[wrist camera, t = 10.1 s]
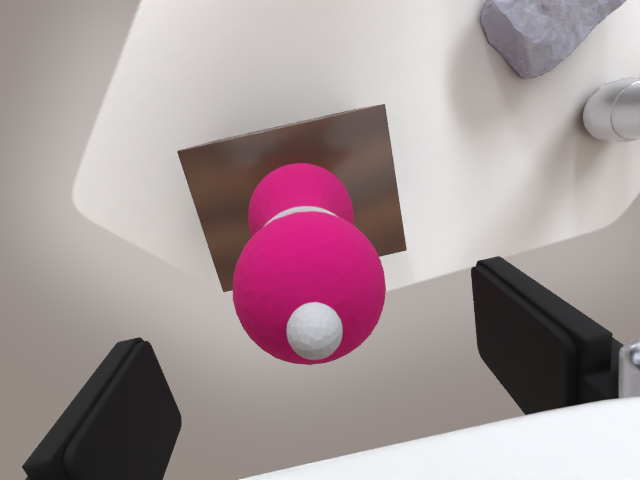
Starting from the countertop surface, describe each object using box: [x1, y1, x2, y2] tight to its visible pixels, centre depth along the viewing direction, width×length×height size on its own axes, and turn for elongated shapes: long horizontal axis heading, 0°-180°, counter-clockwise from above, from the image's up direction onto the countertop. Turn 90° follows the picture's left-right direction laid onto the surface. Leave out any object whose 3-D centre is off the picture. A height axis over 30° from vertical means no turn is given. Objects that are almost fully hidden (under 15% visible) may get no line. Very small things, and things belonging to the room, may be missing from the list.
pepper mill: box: [233, 163, 386, 365], centre depth 21 cm, size 7×7×20 cm
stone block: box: [480, 0, 626, 78], centre depth 37 cm, size 12×5×10 cm
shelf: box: [177, 104, 406, 292], centre depth 36 cm, size 12×16×12 cm
